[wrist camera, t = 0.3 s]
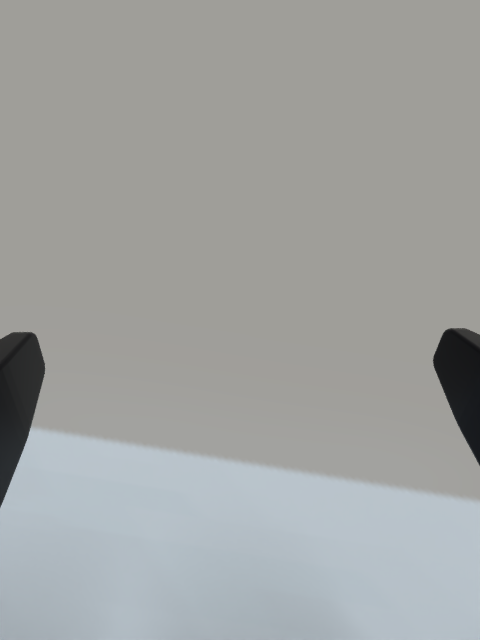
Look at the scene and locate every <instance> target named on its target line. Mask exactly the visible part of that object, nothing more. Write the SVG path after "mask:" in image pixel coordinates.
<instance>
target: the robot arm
mask: <svg viewBox="0 0 480 640" xmlns="http://www.w3.org/2000/svg"><path fill="white" fill-rule="evenodd" d="M433 363H434V368H435V371H436V373H437V375H438V378H439V380H440V383H441V385H442V388H443V390H444V393H445V395H446V398H447V400H448V402H449V405H450V407H451V410H452V412H453V415H454V417H455V419H456V421H457V424H458V426H459V427H460V430H461V432H462V434H463V435H464V437H465V439H466V441H467V443H468V445H469V447H470V449H471V450H472V452H473V454H474V456H475V458H476V460H477V462H478V463H479V465H480V335H479V334H477V333H475V332H472V331H470V330H468V329H465V328H450V329H447V330H446V331H445V332H444V333H443V335H442V337H441V340H440V342H439V345H438V347H437V350H436V352H435V354H434V359H433ZM44 374H45V363H44V360H43V356H42V353H41V349H40V346H39V342H38V339H37V337H36V335H35V334H34V333H32V332H14V333H11V334H9V335H7V336H5V337H4V338H2V339H0V507H1V505H2V502H3V500H4V497H5V495H6V492H7V490H8V487H9V485H10V482H11V480H12V477H13V474H14V472H15V469H16V467H17V464H18V462H19V459H20V457H21V454H22V452H23V449H24V446H25V444H26V441H27V438H28V435H29V431H30V428H31V424H32V420H33V416H34V413H35V408H36V404H37V401H38V397H39V393H40V389H41V386H42V382H43V378H44Z"/></svg>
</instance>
